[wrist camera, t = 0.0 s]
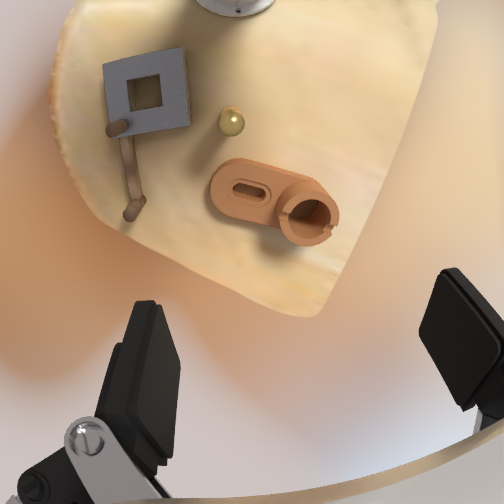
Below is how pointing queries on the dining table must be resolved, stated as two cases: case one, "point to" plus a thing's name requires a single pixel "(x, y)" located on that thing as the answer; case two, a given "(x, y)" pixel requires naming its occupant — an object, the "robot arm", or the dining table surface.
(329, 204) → the bracket
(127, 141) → the brown drawer handle
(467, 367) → the robot arm
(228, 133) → the pin
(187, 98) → the collar block
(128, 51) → the dining table surface
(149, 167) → the dining table surface
